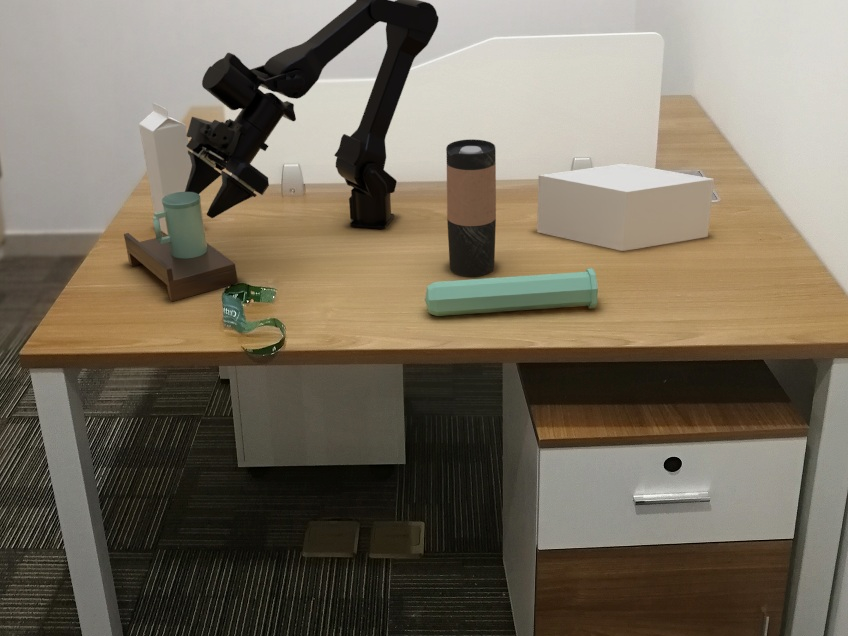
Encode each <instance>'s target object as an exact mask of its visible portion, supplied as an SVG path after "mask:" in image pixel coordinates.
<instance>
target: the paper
mask: <svg viewBox="0 0 848 636" xmlns="http://www.w3.org/2000/svg"><path fill="white" fill-rule="evenodd" d="M537 179H538V180H537V215H536V216H537V218H536V233H538V234H544V235H548V236H553V237H557V238H561V239H565V240H566V239H567V240H571V241H574V242H575V241H576V242H580V243H584V244H588V245H593V246H598V247H602V248H607V249H611V250H616V251H621V252H625V251H632V250H637V249H644V248H649V247H656V246H661V245H662V246H663V245H669V244H675V243H680V242H686V241H691V240H692V241H693V240H698V239H702V238H703V239H704V238H709V237H708V236H709V229H710V228H709V227H710V220H711V211H712V203H713V194H714V187H715V186H714V183H715V178H712V177H711V178H710V177H704V176H699V175H693V174H687V173H682V172H677V171H670V170H665V169H659V168H654V167H647V166H642V165H638V164H637V165H636V164H630V163H625V162H624V163H623V162H622V163H617V164H611V165H610V164H609V165H602V166H595V167H587V168H579V169H573V170H565V171H559V172H552V173H545V174H538V178H537Z"/></svg>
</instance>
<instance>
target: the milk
mask: <svg viewBox="0 0 848 636" xmlns="http://www.w3.org/2000/svg"><path fill="white" fill-rule="evenodd" d="M151 103H152V104H151V105H152V111H151V113H149V114H148V115H146V117H145V118H144V119H142V120H141V121H140V122H139V123H138V126H139V127H138V128H139V132H140V138H141V145H142V150H143V156H144V160H145V162H144V163H145V167H146V174H147V180H148V185H149V190H150V196H151V201H152V202H151V203H152V208H153V214H154V213H157V212H161V211H164V210H163V205H162V198H163V197H165V196H167V195H169V194H172V193H177V192H185V189H186V186H187V183H188V179H189V176H190V172H191V168H192V163H191V159H190V156H189V154H188V151H190V152H191V150H190V149H189V148H188V147H186V146H187V144H188V143H189V137H187V132H188V129H187V125H186V124H185V123H183V122H182V121H180V120H177V119H176V118H174V117H172V116H169V115H168V110H167V108H166V107H164V106H162V105H160V104H158V103H156V102H154V101H152V102H151ZM159 222H160V228H161V233H163V234H165V236H166V235H168V234H167V228H166V222H165V217H164V218H159Z"/></svg>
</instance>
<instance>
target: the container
mask: <svg viewBox="0 0 848 636" xmlns="http://www.w3.org/2000/svg"><path fill="white" fill-rule="evenodd" d="M598 294H599V287H598V280H597V273H596V272H595V270H594V268H593V267H589V268H586V270H585V271H577V272H562V273H561V272H560V273H547V274H531V275H519V276H518V275H517V276H504V277H503V276H502V277H489V278H488V277H487V278H486V277H485V278H474V279H458V280H444V281H434V282H432V283H430V284H428V285H427V286H426V291H425V296H424V302H425V305H426V308H427V311H428V314H430V315H433V316H436V317H444V316H458V315H472V314H474V315H475V314H487V313H503V312H516V311H530V310H545V309H546V310H547V309H557V308H573V307H587V308H588V309H595V308H596V306H597V305H598Z"/></svg>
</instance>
